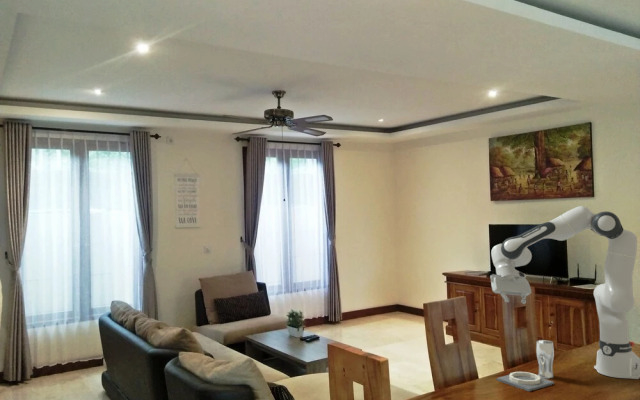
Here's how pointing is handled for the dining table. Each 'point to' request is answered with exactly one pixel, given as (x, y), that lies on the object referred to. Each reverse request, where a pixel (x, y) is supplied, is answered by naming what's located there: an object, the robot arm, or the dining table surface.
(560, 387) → the dining table surface
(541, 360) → the beer glass
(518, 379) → the slate tile
